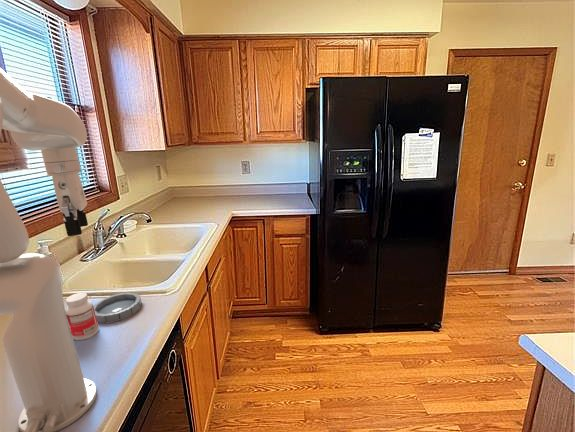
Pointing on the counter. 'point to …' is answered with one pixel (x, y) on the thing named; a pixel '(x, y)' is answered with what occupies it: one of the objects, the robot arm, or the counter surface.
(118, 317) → the round grey tray
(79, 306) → the pill bottle
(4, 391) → the counter surface
